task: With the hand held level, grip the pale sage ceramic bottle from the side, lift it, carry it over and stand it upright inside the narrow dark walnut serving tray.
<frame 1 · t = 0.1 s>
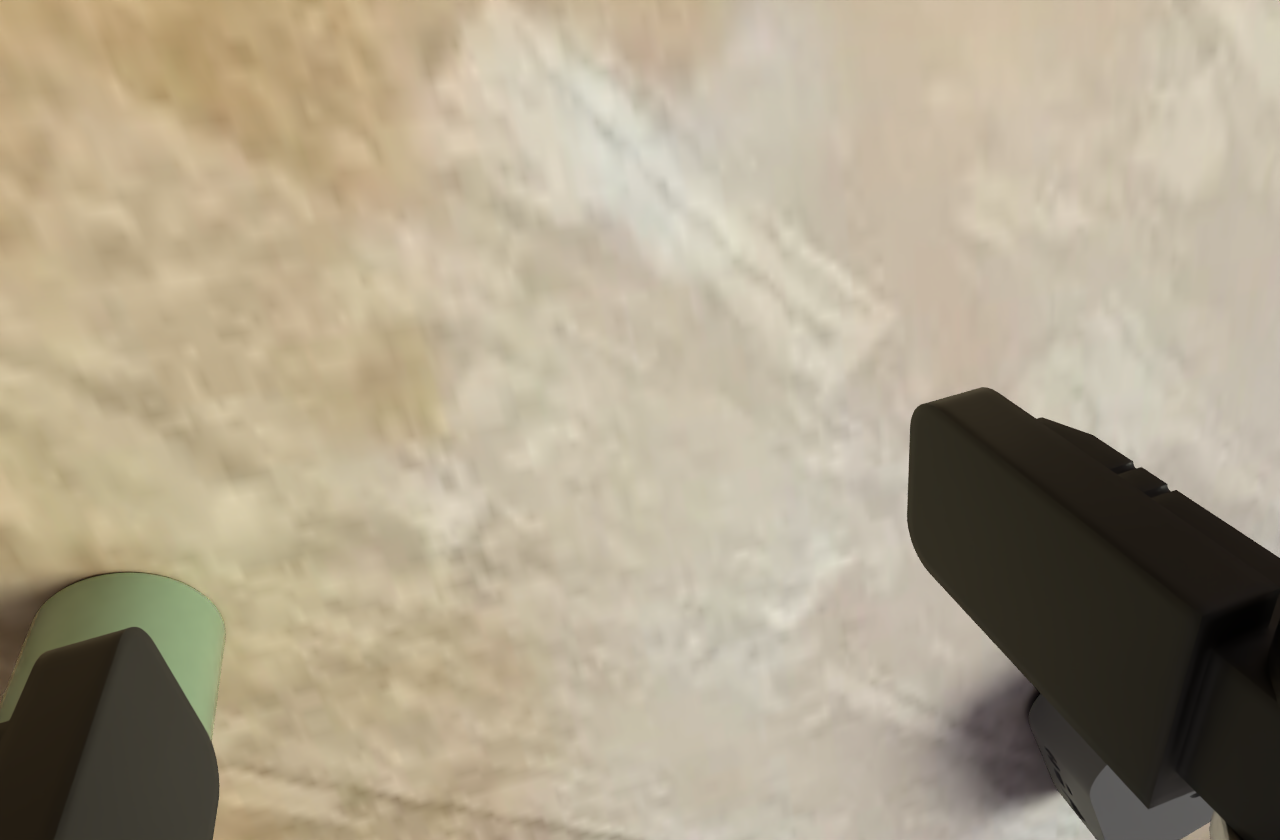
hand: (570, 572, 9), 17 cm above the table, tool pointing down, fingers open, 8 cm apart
streaming box: (1141, 685, 51), on the table
sage bottle: (131, 637, 28), on the table
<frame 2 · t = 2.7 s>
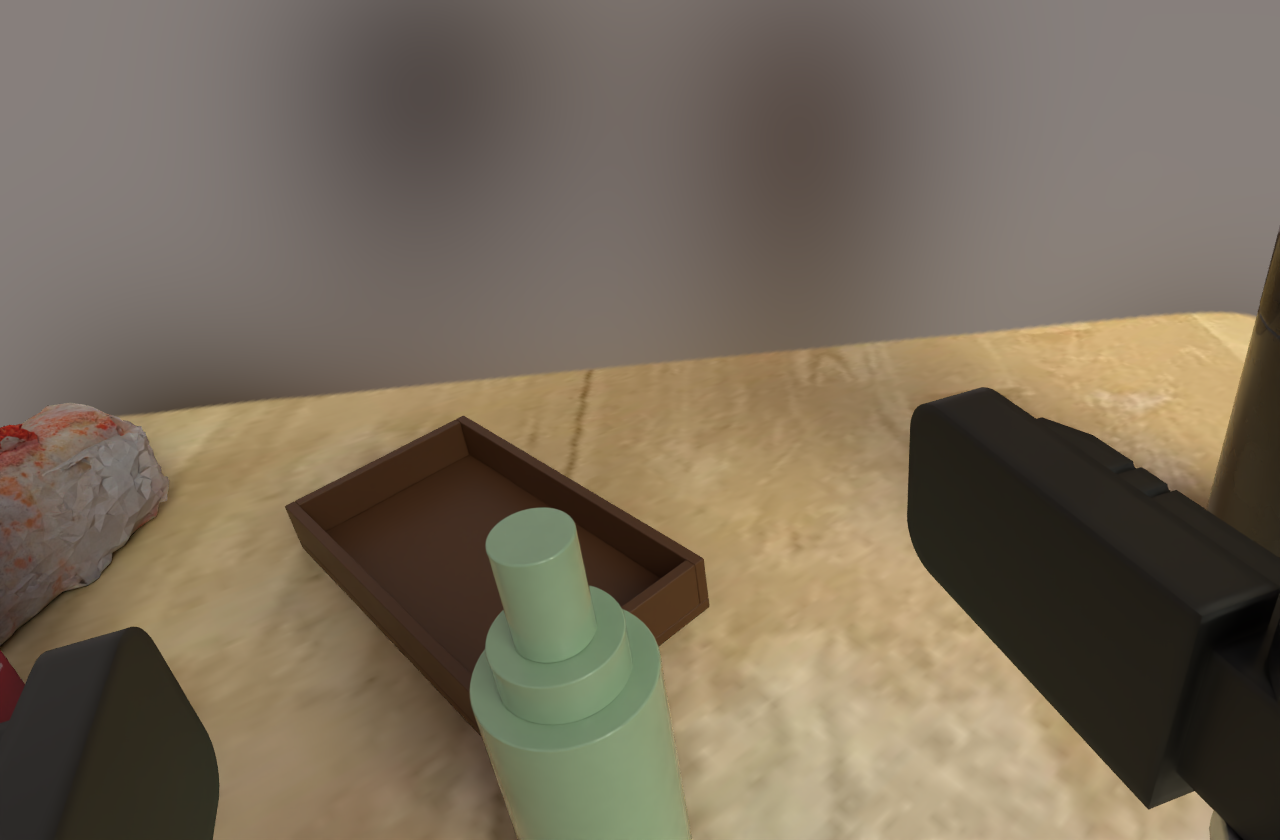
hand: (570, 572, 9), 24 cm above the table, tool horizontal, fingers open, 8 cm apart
grey rough block: (64, 573, 52), on the table
tray: (487, 574, 46), on the table
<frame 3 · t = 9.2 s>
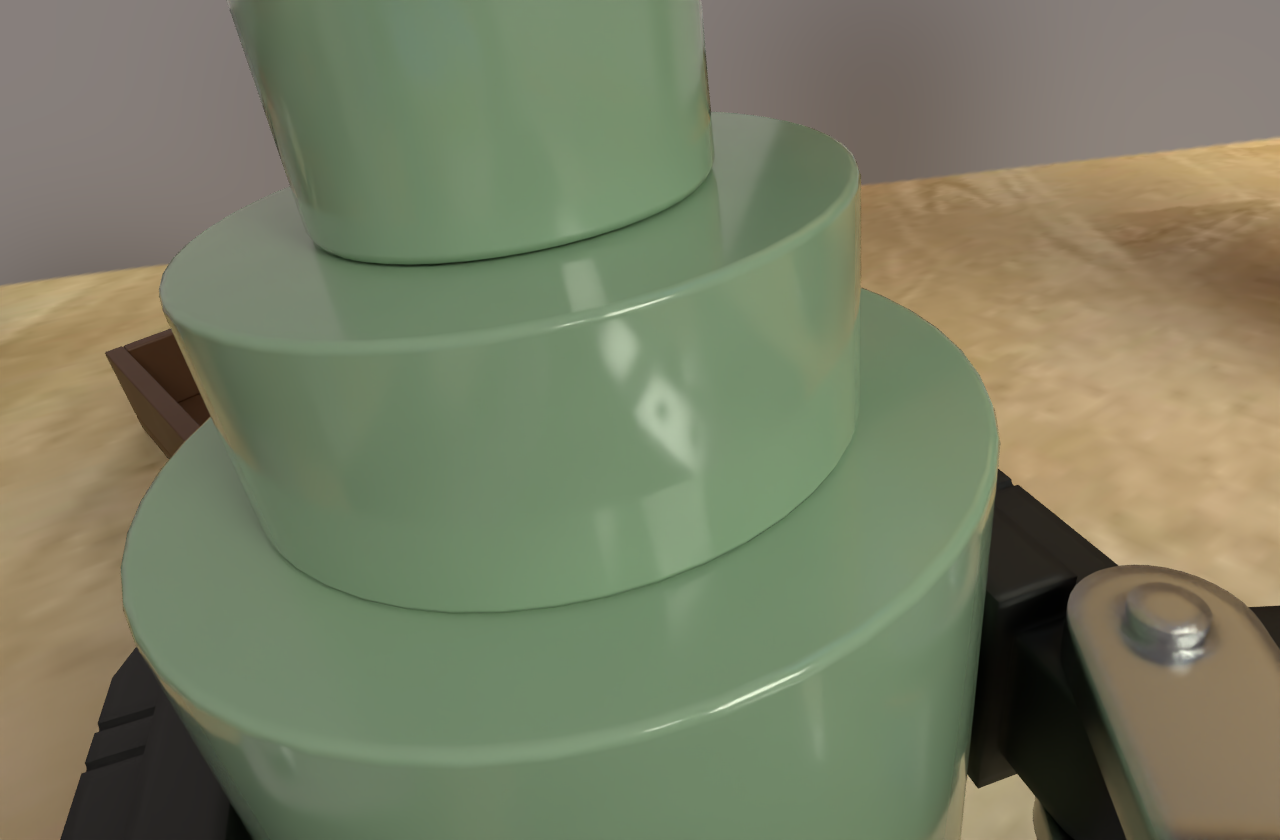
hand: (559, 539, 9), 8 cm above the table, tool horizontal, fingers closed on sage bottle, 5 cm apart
tray: (431, 454, 27), on the table
when the fingers open (9 cm above the table, at t = 20.6 s): sage bottle stays where it is, resting on tray.
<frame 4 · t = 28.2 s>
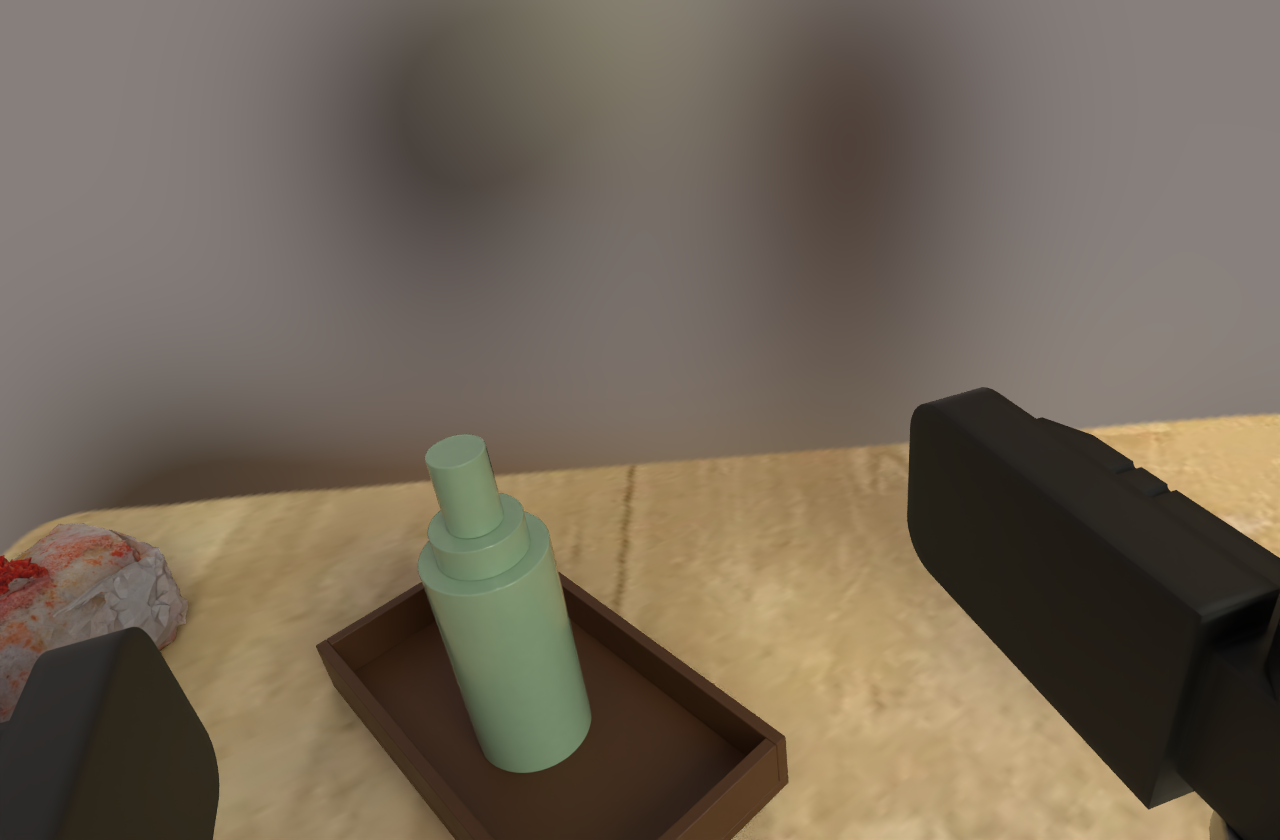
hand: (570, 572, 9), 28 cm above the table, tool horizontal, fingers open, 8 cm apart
grey rough block: (76, 709, 48), on the table
tray: (538, 729, 42), on the table
sage bottle: (534, 723, 42), point 1 cm above the table, touching tray
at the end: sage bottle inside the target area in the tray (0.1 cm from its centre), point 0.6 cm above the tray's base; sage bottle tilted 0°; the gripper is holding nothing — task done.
